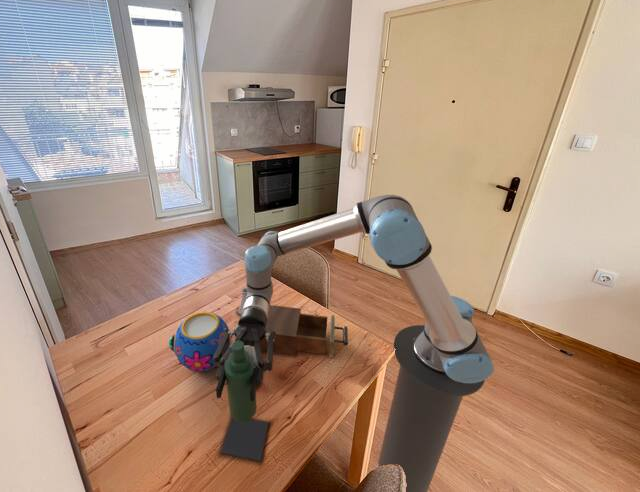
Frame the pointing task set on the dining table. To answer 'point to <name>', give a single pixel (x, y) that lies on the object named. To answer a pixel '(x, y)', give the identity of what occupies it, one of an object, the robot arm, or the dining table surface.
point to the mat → (245, 439)
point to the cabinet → (282, 329)
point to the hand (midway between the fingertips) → (235, 395)
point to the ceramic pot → (198, 341)
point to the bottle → (240, 383)
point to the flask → (244, 294)
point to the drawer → (317, 334)
